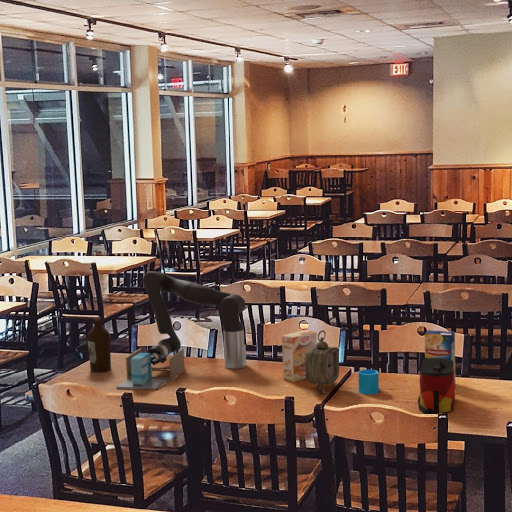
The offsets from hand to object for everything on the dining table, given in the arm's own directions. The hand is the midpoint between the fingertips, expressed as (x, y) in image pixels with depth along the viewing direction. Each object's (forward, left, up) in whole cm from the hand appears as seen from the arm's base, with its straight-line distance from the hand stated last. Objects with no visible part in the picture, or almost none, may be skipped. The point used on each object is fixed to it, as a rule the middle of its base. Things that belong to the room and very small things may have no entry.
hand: (144, 362), depth 380 cm
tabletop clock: (-79, +2, -9) cm, 79 cm away
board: (0, +3, -9) cm, 10 cm away
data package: (0, +2, -8) cm, 9 cm away
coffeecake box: (-66, -17, -9) cm, 69 cm away
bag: (-125, +17, -9) cm, 127 cm away
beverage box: (-126, -11, -9) cm, 127 cm away
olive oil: (+30, -20, -9) cm, 37 cm away
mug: (-98, 0, -9) cm, 98 cm away
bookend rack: (0, -14, -9) cm, 17 cm away
